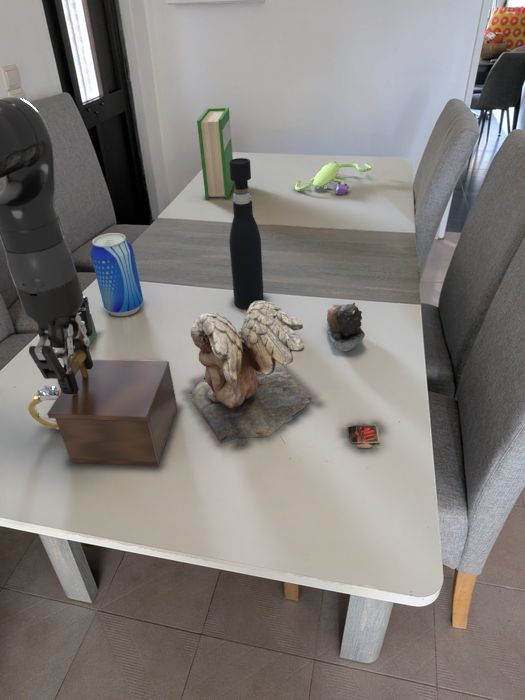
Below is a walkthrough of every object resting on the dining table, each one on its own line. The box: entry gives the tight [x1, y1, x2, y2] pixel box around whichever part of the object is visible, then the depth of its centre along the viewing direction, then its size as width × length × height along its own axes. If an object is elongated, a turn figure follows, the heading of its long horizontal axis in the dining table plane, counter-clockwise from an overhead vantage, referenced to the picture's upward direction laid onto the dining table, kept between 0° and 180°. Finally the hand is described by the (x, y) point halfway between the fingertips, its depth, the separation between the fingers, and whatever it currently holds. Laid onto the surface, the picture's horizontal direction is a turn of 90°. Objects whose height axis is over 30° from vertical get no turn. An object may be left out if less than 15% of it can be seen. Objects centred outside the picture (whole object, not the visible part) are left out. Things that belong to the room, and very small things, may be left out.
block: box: [81, 313, 98, 349], centre depth 101 cm, size 5×5×5 cm
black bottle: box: [228, 157, 265, 310], centre depth 104 cm, size 6×6×30 cm
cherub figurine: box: [186, 300, 315, 448], centre depth 81 cm, size 18×18×18 cm
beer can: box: [90, 232, 144, 317], centre depth 108 cm, size 8×8×16 cm
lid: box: [46, 350, 170, 421], centre depth 74 cm, size 14×13×5 cm
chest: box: [55, 365, 178, 467], centre depth 78 cm, size 13×13×9 cm
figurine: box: [294, 160, 373, 195], centre depth 173 cm, size 18×27×6 cm
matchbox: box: [346, 423, 380, 449], centre depth 78 cm, size 5×5×1 cm
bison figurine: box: [326, 302, 366, 352], centre depth 96 cm, size 12×7×10 cm, turn 3°
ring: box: [27, 384, 61, 431], centre depth 80 cm, size 7×3×8 cm, turn 86°
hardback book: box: [196, 107, 235, 200], centre depth 168 cm, size 18×7×24 cm, turn 176°
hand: (78, 379), depth 75 cm, fingers closed on lid, 5 cm apart
